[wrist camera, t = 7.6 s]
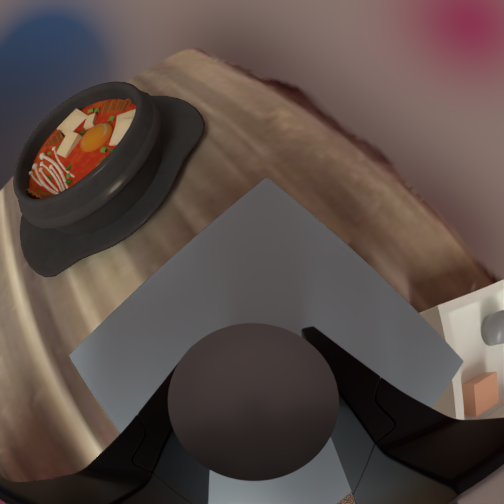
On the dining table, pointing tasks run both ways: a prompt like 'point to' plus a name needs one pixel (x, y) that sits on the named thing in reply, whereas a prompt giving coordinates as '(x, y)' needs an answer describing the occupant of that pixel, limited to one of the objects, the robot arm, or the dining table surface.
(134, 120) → the casserole
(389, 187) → the dining table surface
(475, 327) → the crate
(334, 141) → the dining table surface
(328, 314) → the lid
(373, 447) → the robot arm
